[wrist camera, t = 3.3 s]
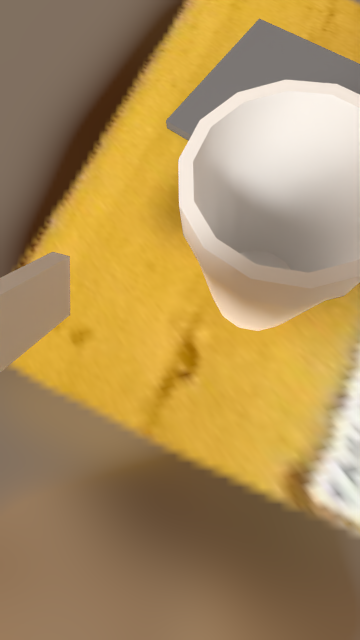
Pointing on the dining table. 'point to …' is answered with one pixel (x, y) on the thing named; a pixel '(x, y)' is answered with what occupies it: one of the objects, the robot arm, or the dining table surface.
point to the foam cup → (275, 200)
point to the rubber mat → (263, 72)
